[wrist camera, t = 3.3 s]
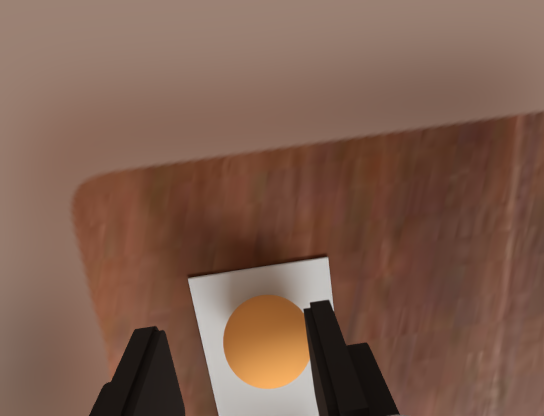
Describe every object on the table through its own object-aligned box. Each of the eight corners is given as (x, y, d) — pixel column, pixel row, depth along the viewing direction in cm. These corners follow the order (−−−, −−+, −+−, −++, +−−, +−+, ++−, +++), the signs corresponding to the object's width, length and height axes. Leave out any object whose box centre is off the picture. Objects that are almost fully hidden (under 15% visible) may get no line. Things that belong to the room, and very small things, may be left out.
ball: (218, 286, 30) (211, 335, 24) (301, 273, 30) (314, 320, 24) (232, 355, 32) (229, 417, 26) (310, 343, 32) (324, 402, 26)
